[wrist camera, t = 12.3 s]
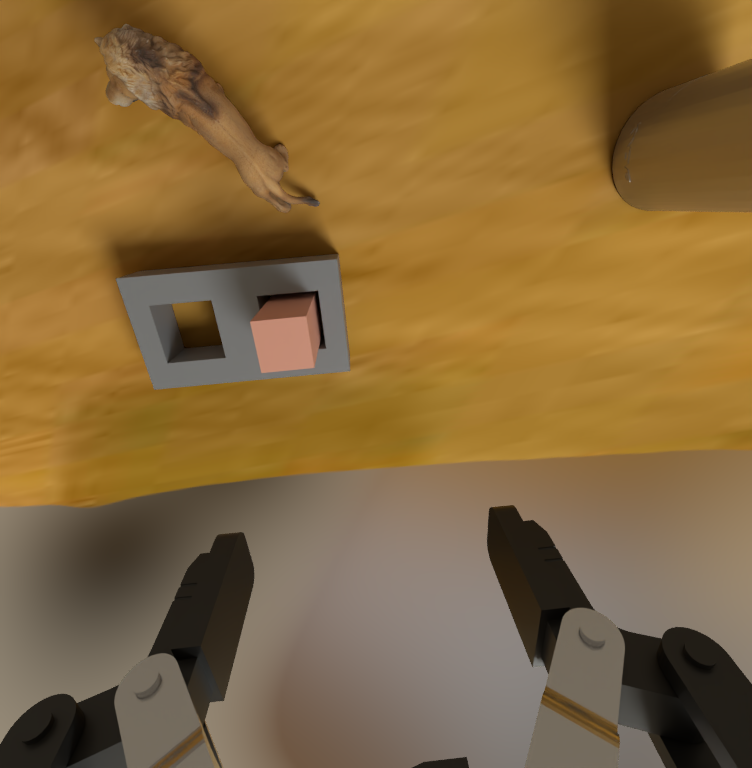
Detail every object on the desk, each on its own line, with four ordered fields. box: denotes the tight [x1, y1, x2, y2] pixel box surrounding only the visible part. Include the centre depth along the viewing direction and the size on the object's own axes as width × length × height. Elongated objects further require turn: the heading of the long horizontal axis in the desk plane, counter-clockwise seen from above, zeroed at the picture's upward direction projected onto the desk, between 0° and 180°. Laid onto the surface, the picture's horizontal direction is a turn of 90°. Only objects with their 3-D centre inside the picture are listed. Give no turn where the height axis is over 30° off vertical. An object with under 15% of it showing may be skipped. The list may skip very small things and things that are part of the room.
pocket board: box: [116, 254, 350, 390], centre depth 36 cm, size 18×10×4 cm, turn 94°
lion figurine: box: [95, 24, 320, 213], centre depth 28 cm, size 15×5×9 cm, turn 54°
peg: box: [250, 291, 322, 373], centre depth 33 cm, size 4×4×10 cm
